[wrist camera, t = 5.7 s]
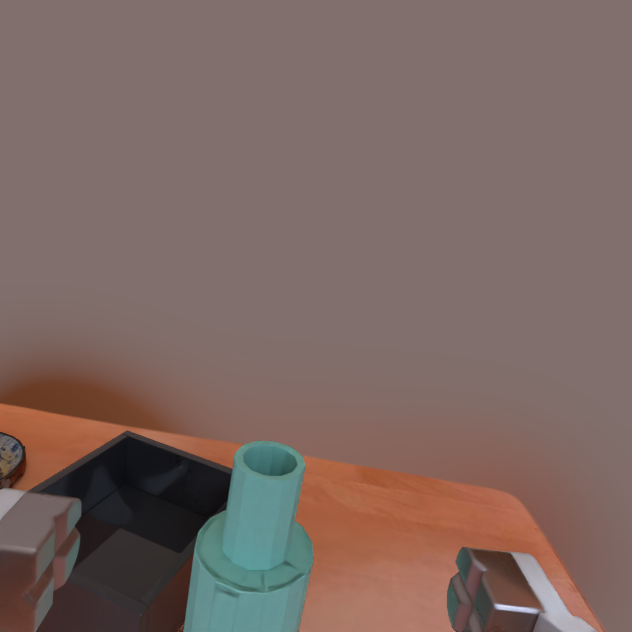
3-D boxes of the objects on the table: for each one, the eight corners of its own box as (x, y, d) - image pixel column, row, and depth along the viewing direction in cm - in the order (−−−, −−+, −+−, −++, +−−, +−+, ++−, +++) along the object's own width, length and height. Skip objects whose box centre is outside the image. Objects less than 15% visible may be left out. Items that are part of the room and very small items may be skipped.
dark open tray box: (133, 692, 31) (141, 615, 29) (-36, 602, 34) (-37, 529, 33) (247, 533, 46) (256, 477, 45) (122, 483, 50) (126, 430, 48)
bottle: (241, 843, 25) (307, 516, 20) (144, 785, 26) (182, 469, 21) (284, 727, 30) (344, 450, 25) (202, 685, 32) (242, 417, 27)
